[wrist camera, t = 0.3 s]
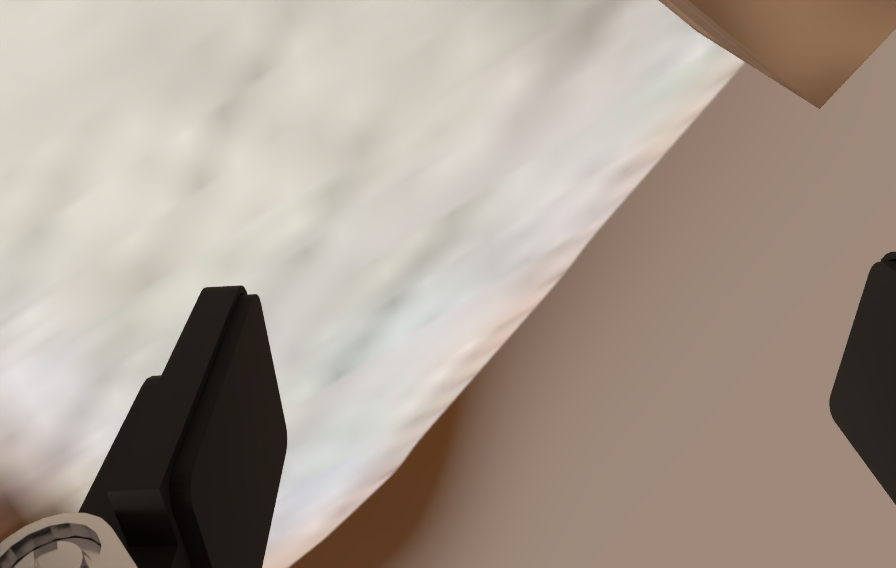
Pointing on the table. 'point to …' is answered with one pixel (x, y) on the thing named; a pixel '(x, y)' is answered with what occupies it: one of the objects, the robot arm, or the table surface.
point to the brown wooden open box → (795, 37)
